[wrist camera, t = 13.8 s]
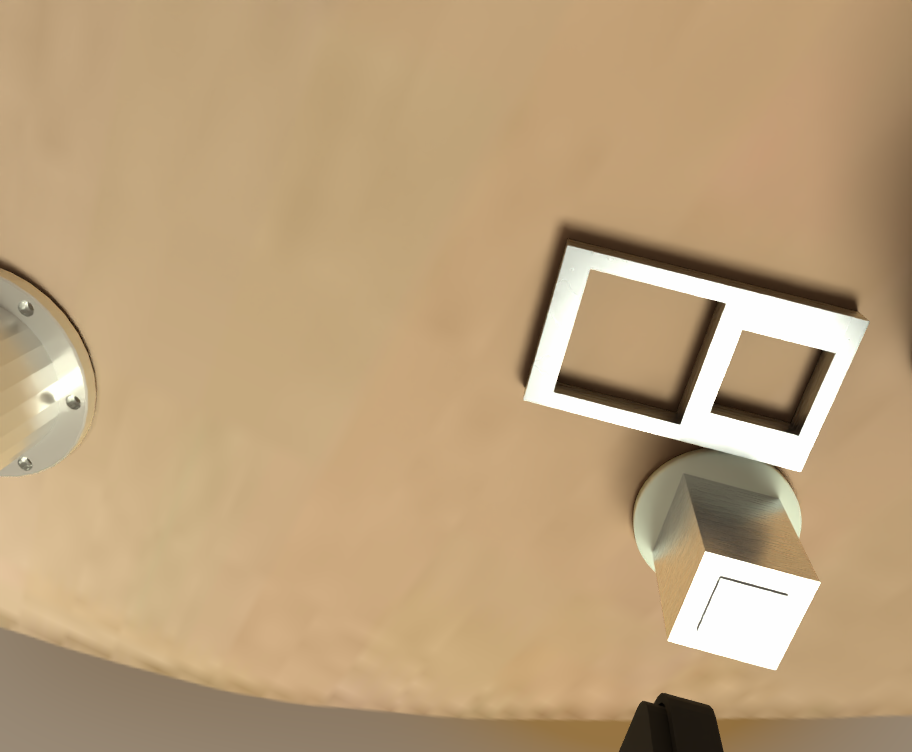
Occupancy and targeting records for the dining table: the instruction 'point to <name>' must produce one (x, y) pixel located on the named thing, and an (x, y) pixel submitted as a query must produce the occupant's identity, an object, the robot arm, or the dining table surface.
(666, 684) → the dining table surface
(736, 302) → the metal rectangular frame
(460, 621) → the dining table surface
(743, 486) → the cream dome cap
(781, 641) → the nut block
